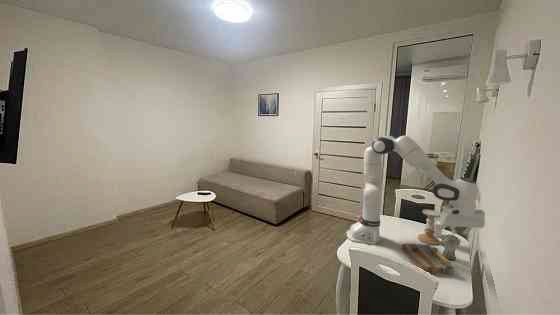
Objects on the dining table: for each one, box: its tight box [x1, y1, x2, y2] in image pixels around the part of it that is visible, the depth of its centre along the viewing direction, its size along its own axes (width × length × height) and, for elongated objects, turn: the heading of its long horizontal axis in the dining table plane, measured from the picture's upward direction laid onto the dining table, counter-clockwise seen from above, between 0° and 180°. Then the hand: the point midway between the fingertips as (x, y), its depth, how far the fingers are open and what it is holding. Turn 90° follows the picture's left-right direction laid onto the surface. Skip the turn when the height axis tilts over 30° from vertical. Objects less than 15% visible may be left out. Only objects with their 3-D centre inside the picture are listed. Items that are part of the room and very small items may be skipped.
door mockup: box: [401, 243, 455, 276], centre depth 123 cm, size 16×22×6 cm
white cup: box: [433, 219, 444, 238], centre depth 152 cm, size 8×8×10 cm
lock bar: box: [431, 246, 452, 267], centre depth 118 cm, size 13×3×3 cm, turn 175°
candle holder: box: [417, 209, 441, 246], centre depth 144 cm, size 12×12×20 cm
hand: (459, 233), depth 113 cm, fingers open, 4 cm apart
